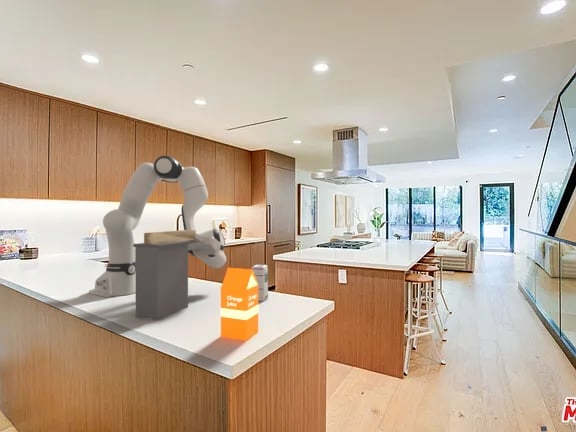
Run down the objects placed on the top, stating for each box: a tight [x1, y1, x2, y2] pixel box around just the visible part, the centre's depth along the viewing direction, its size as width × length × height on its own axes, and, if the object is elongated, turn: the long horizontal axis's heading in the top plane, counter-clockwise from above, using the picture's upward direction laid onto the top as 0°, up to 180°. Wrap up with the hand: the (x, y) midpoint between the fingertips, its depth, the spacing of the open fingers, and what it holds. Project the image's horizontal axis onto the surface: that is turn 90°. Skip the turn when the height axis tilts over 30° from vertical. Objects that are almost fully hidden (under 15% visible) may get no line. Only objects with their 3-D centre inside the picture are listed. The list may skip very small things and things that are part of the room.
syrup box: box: [250, 264, 269, 302], centre depth 136 cm, size 6×6×14 cm
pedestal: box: [133, 241, 190, 321], centre depth 118 cm, size 12×16×26 cm
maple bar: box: [143, 229, 197, 244], centre depth 123 cm, size 4×24×4 cm, turn 159°
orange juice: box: [220, 267, 259, 342], centre depth 96 cm, size 8×9×20 cm
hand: (185, 234), depth 130 cm, fingers open, 8 cm apart
